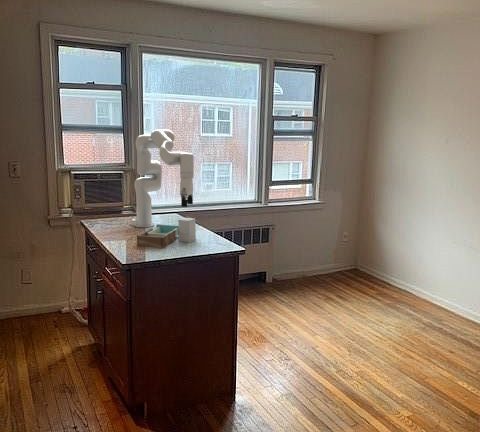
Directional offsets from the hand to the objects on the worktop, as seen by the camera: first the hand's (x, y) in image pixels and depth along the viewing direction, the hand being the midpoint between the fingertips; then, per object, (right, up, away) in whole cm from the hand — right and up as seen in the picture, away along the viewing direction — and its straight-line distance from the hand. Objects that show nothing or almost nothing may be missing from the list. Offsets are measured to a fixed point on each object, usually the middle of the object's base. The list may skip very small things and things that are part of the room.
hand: (187, 205), depth 263 cm
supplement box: (0, -20, +4) cm, 21 cm away
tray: (-14, -18, +5) cm, 24 cm away
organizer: (-16, -21, -3) cm, 27 cm away
